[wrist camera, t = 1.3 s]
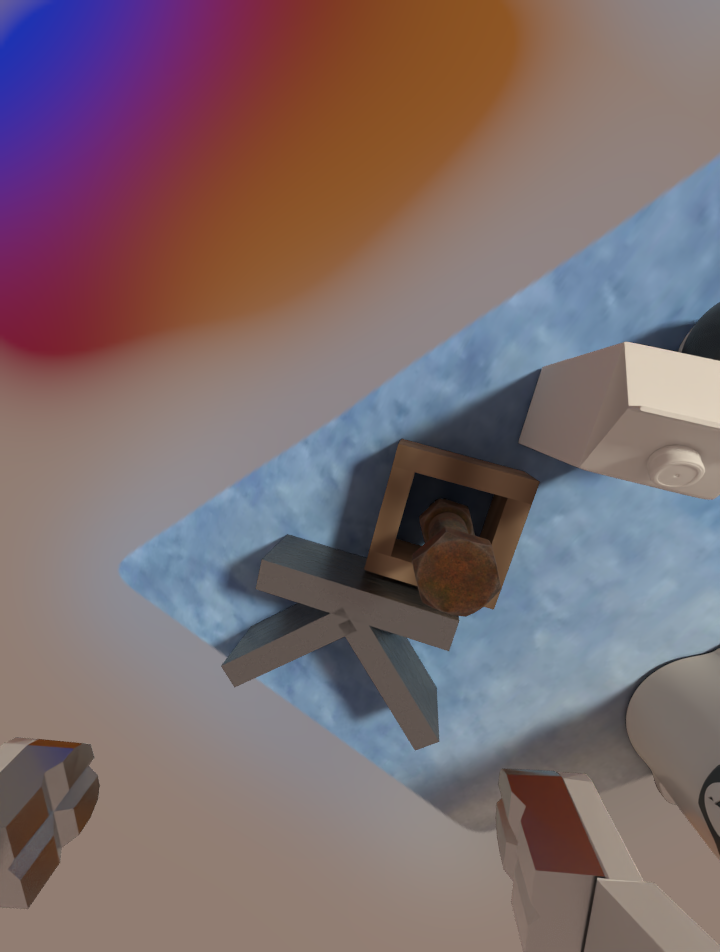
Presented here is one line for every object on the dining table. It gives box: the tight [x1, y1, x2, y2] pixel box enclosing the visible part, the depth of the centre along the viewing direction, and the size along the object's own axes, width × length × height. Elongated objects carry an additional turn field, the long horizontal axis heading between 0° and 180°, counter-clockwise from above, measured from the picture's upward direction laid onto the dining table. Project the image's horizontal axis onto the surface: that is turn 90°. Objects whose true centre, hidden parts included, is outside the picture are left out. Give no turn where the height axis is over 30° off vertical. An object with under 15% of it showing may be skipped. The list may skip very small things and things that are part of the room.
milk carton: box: [518, 342, 720, 499], centre depth 27 cm, size 7×7×19 cm
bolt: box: [412, 498, 501, 616], centre depth 32 cm, size 6×5×15 cm
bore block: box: [364, 439, 540, 609], centre depth 37 cm, size 12×12×5 cm
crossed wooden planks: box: [221, 535, 459, 750], centre depth 39 cm, size 22×14×7 cm, turn 75°
